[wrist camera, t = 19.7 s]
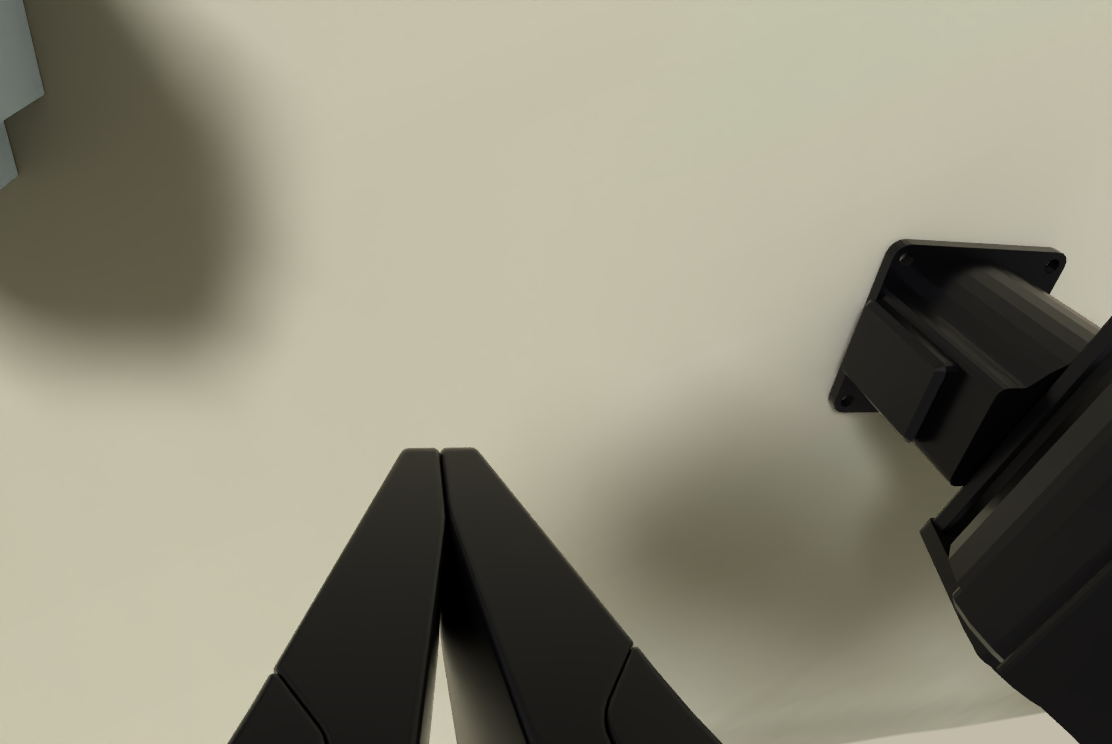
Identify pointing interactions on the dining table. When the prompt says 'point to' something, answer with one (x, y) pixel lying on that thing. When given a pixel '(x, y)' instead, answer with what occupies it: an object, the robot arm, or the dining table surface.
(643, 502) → the dining table surface
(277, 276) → the dining table surface
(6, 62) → the lever frame
